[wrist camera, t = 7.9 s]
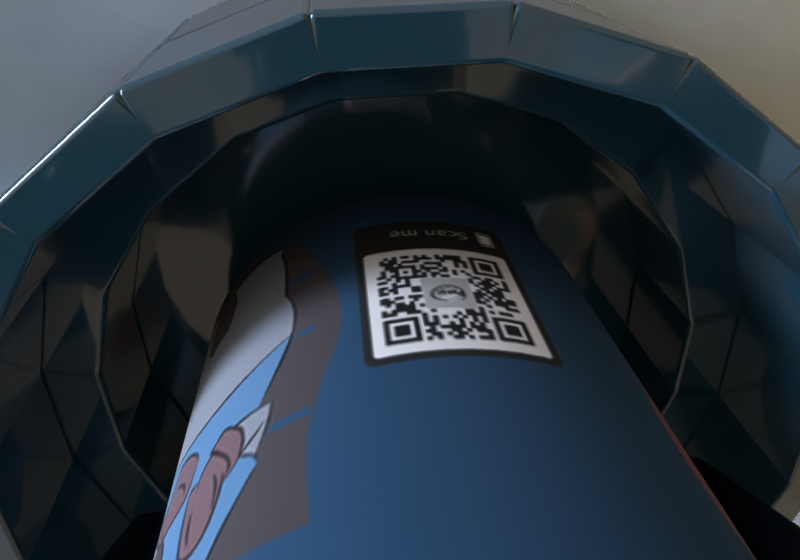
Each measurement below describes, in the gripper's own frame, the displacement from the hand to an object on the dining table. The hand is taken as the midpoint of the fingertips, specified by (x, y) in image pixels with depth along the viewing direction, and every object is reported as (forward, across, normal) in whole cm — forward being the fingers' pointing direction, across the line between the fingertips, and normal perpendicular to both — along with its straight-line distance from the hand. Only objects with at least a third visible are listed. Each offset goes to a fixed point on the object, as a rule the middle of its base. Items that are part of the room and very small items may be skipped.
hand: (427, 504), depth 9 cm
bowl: (+5, 0, 0) cm, 5 cm away
